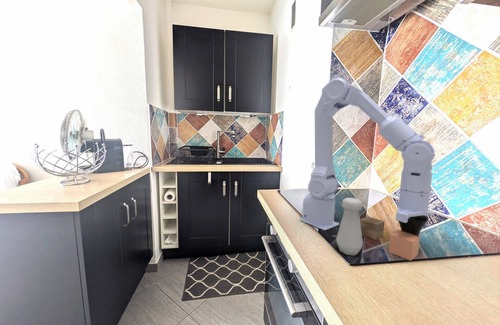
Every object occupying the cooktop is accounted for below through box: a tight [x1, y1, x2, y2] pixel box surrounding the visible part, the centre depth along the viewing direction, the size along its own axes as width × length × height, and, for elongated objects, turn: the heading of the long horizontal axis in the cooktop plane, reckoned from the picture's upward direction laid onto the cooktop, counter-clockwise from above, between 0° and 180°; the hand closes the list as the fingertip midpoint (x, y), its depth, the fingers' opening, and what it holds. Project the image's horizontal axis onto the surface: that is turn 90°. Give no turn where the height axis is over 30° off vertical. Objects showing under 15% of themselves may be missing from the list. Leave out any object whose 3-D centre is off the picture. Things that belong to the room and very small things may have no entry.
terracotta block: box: [388, 229, 421, 262], centre depth 50 cm, size 4×4×4 cm
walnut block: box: [360, 216, 386, 241], centre depth 59 cm, size 4×4×4 cm
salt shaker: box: [335, 197, 364, 257], centre depth 50 cm, size 6×6×13 cm
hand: (409, 243), depth 52 cm, fingers closed
